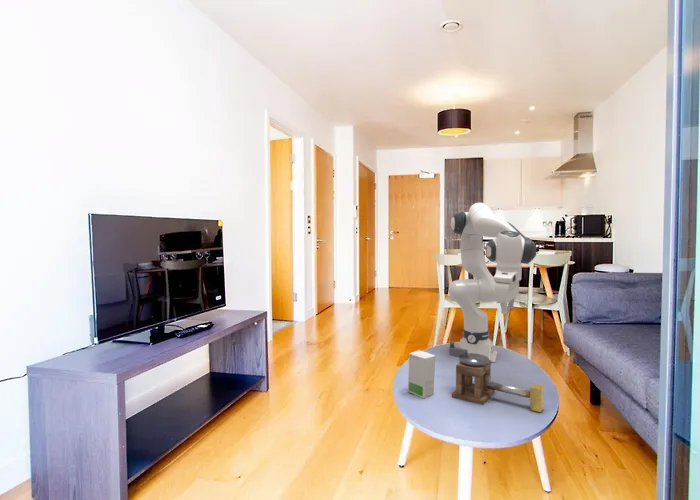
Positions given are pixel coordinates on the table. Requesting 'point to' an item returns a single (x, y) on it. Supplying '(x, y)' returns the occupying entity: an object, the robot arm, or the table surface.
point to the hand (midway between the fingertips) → (507, 310)
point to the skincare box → (421, 373)
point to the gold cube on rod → (521, 392)
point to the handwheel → (468, 356)
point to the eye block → (465, 384)
